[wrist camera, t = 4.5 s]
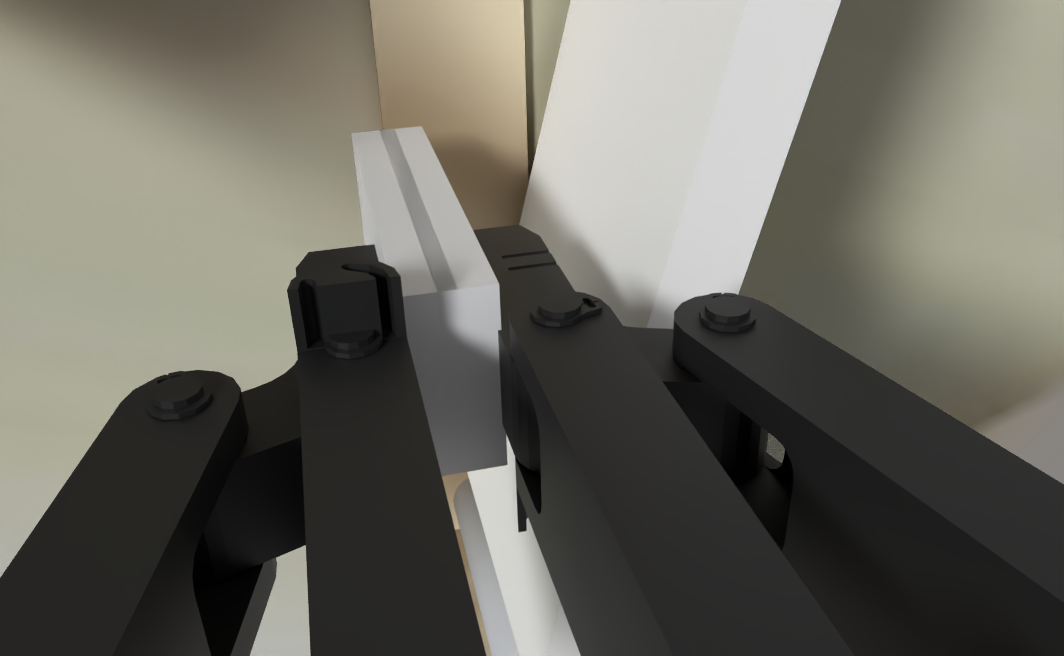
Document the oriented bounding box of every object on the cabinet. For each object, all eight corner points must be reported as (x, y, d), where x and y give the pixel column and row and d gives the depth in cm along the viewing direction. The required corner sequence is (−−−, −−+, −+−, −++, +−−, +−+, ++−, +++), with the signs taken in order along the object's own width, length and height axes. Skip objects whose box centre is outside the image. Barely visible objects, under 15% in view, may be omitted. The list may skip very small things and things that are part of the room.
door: (539, 519, 23) (631, 771, 17) (447, 516, 23) (510, 778, 17) (767, -293, 16) (1067, -347, 10) (641, -334, 15) (881, -420, 9)
